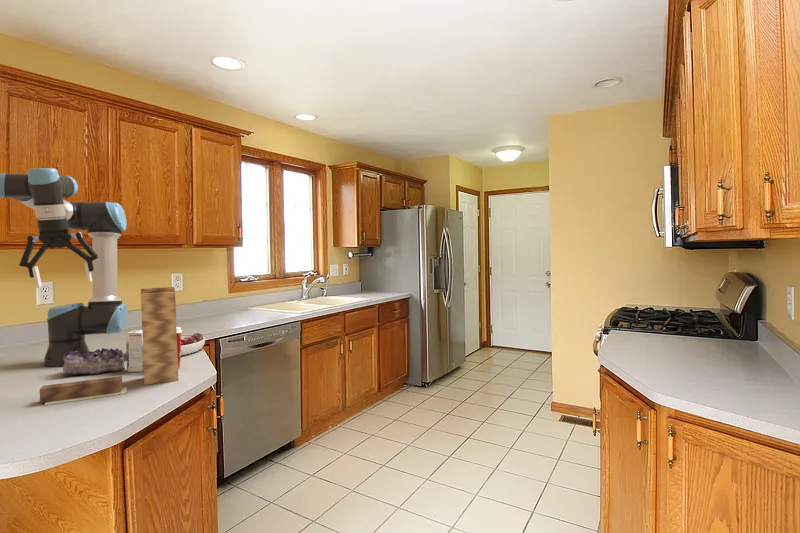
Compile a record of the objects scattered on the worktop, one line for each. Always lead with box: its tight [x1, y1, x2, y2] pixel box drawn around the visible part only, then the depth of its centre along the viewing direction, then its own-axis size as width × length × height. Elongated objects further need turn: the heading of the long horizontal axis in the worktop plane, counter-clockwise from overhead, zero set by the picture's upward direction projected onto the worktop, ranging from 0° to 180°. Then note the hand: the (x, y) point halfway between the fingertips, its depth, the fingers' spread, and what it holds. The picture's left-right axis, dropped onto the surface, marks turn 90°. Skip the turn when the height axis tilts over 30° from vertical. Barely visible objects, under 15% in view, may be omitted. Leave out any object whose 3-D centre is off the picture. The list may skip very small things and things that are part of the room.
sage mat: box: [44, 387, 128, 406], centre depth 136 cm, size 20×6×1 cm, turn 119°
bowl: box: [180, 332, 206, 357], centre depth 193 cm, size 30×30×8 cm
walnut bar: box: [39, 375, 123, 404], centre depth 135 cm, size 20×4×4 cm, turn 116°
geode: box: [62, 347, 126, 376], centre depth 163 cm, size 20×12×10 cm, turn 108°
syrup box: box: [125, 329, 144, 373], centre depth 165 cm, size 6×6×14 cm
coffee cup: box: [176, 326, 183, 369], centre depth 167 cm, size 8×8×15 cm
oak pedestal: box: [140, 286, 179, 386], centre depth 153 cm, size 10×10×31 cm
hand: (65, 284), depth 144 cm, fingers open, 13 cm apart
